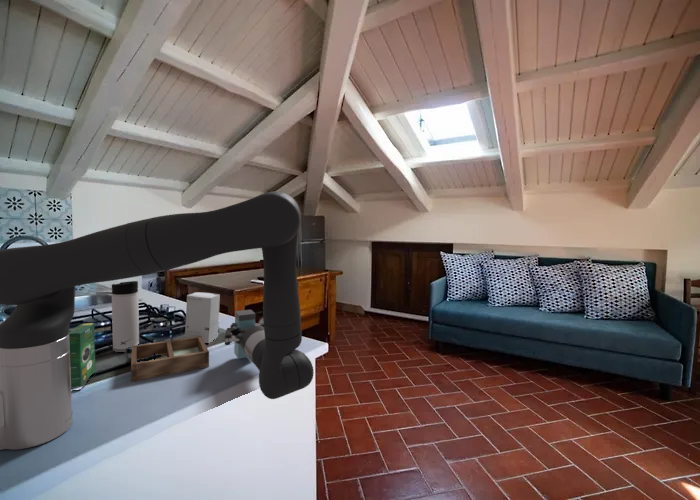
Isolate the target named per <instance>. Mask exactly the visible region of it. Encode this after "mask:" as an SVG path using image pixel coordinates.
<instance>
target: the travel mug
mask: <svg viewBox="0 0 700 500" xmlns="http://www.w3.org/2000/svg"><path fill="white" fill-rule="evenodd" d="M138 281H139V280H138ZM138 281H137V280H132V281H131V280H130V281H123V282H119V283H116V284H115V283H113V284H111V317H112V321H111V322H112V323H111V325H112V326H111V327H112V351H113V352H114V351H115V353H117V352H124V353H126V352H125V350H126V348H128V347H132V346H135V345H138V344H139V345H140V330H139V329H140V324H139V323H140V319H139V311H140V310H139V289H138V288H139V282H138Z"/></svg>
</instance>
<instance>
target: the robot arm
mask: <svg viewBox="0 0 700 500" xmlns="http://www.w3.org/2000/svg"><path fill="white" fill-rule="evenodd" d="M301 214H302V213H301V208H300V206H299V204H298V203H297V201H296V200H295V199H294V198H293V197H292V196H290V195H289V194H287V193H285V192H282V191H277V190H276V191H275V190H274V191H268V192H263V193H261V194H259V195H257V196H255V197H252V198H249V199H246V200H243V201H240V202H238V203H234V204H231V205H229V206H226V207H225V206H224V207H221V208H219V209H215V210H208V211H203V212H200V211H199V212H187V213H173V214H167V215H166V214H165V215H159V216H154V217H150V218H149V217H148V218H145V219H141V220H136V221H131V222H127V223H125V224H119V225H117V226H112V227H108V228H106V229H103V230H99V231H95V232H92V233H89V234H85V235H83V236H80V237H76V238H73V239H68V240H65V241H62V242H56V243H49V244H43V245H42V244H41V245H30V246H20V247H19V246H18V247H11V248H3V249H0V305H4V306H15V308H14V310H13V311H12V312H11V314H10V315H9V316H8V317H7V318H6V319H5V320H4V321H2V322H1V323H0V451H2V450H12V451H14V450H23V449H29V448H32V447H36V446H40V445H43V444H45V443H47V442H50V441H53V440H54V439H56V438H58V437H59V436H61V435H63V434H64V433H66V432H67V431H68V430H69V429H70V428H71V427H72V424H73V405H72V404H73V401H72V399H73V398H72V391H71V369H70V341H69V332H70V324H71V322H72V320H73V318H74V315H75V303H76V299H75V298H76V287H79V286H82V285H88V284H89V285H90V284H95V283H96V284H97V283H98V284H99V283H103V282H111V281H118V280H124V279H130V278H137V277H141V276H142V277H143V276H146V275H147V276H148V275H152V274H156V273H161V272H165V271H169V270H173V269H177V268H181V267H185V266H188V265H192V264H194V263H197V262H198V263H199V262H201V261H204V260H207V259H210V258H213V257H215V256H220V255H222V254H227V253H233V252H234V253H235V252H240V251H247V250H255V249H261V251H262V252H261V253H262V259H263V260H262V261H263V262H262V263H263V293H262V295H263V296H262V317H263V321H264V323H263V324H262V325H259V324H258V322H256V321H255V326H253V327H251V328H249V329H246V328H244V327H238V326H237V325H236V324H235V322H232V323H231V324H230V327H227V328H226V330H225V334H224V346H230V345H231V344H233V342H234V343H235V342H236V343H237V344H240V346H241V348H242V350H243V351H244V353H245V354H246V356H247V357H246V358H248V360H249V361H250V362H251V363H252V364H254V365H255V367H256V368H257V370H258V371H259V373H258V385H259V386H258V387H259V389H260V391H261V393H262V394H263V396H264V397H266V398H267V399H269V400H270V399H271V400H276V399H279V398H282V397H285V396H287V395H290V394H292V393H295V392H298V391H300V390H303V389H305V388H306V387H308V386H309V385H310V384H311V383H312V381H313V378H314V374H315V373H314V366H313V363H312V361H311V360H310V358H309V357H308V356H307V355H306V354H305V353H304V352H303V351H301V350H298V349H297V348H299V346H300V345H301V343H302V341H303V340H302V339H303V335H302V333H303V331H302V317H301V305H300V295H299V286H298V276H297V275H298V274H297V273H298V272H297V246H298V245H297V243H298V236H299V235H298V233H299V229H300V228H301V227H300V226H301V223H302V215H301Z"/></svg>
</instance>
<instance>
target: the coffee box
mask: <svg viewBox="0 0 700 500" xmlns="http://www.w3.org/2000/svg"><path fill="white" fill-rule="evenodd" d="M95 339H96V338H95V322H87V323H86V322H85V323H80V324H79V325H77V326H76V327H74V328H73V329H71V330H69V341H70V369H71V387H76V386H82V385H83V383H84V382H85V381H86V380H87V379H88V378H89V377H90V376H91V375H92V374H93V373H94V372H95V373H96V346H95V345H96V344H95V343H96V341H95Z"/></svg>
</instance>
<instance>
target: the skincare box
mask: <svg viewBox="0 0 700 500" xmlns="http://www.w3.org/2000/svg"><path fill="white" fill-rule="evenodd" d="M220 296H221V294H218V293H211V292H198V291H196V292H193V293H190V294H187V295H186V310H185V328H184V329H185V330H184V338H190V337H197V336H201V337H202V339H203V341H204V343H209V344H211V343H212V342H214V341H215V340H217V339H218V338H217V337H218V334H219V318H220V317H219V316H220V302H221V301H220V300H221V297H220ZM216 338H217V339H216ZM214 339H215V340H214ZM213 340H214V341H213ZM210 342H211V343H210Z"/></svg>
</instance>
